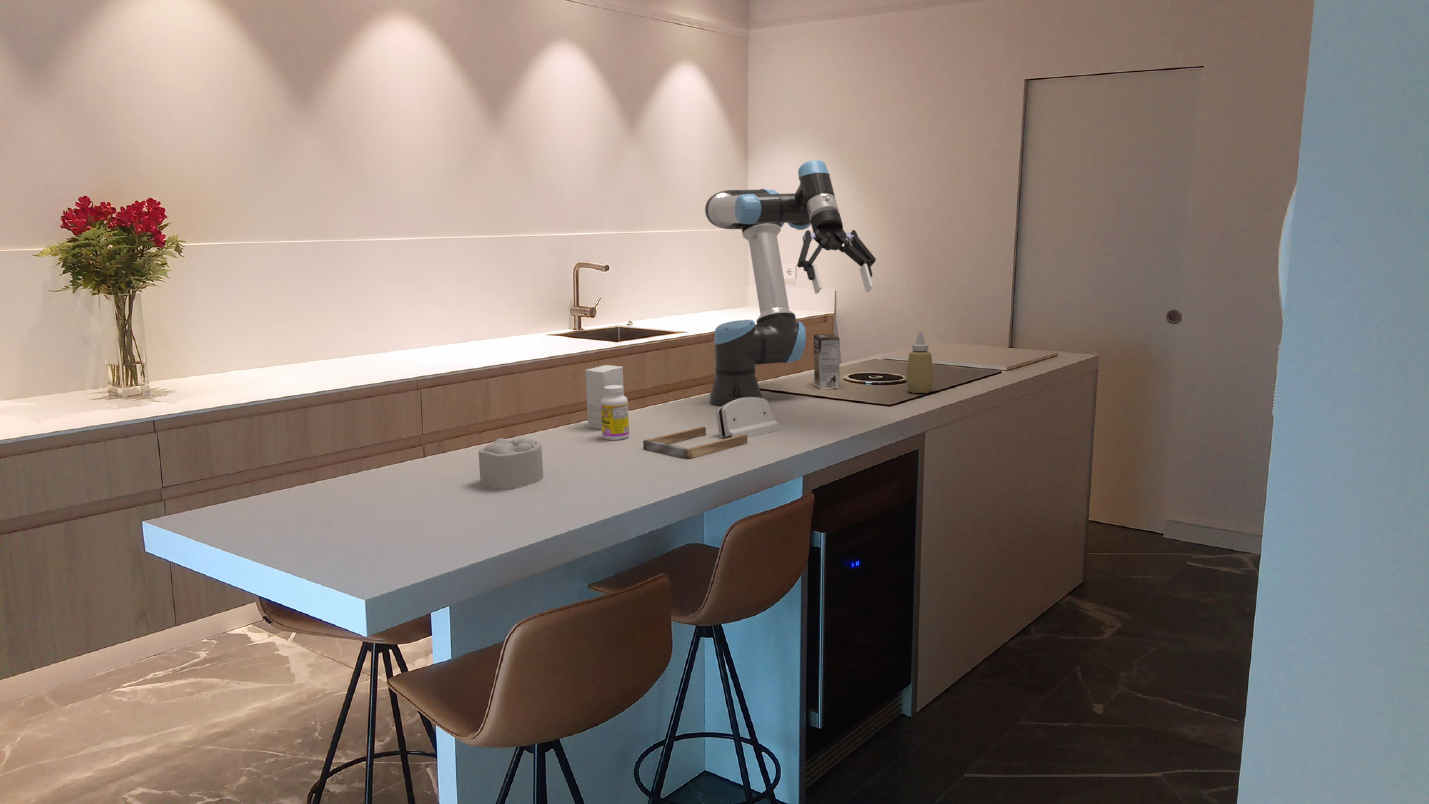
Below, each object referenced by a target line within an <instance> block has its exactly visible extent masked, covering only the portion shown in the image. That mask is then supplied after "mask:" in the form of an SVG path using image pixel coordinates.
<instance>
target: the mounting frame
mask: <svg viewBox="0 0 1429 804" xmlns="http://www.w3.org/2000/svg"><path fill="white" fill-rule="evenodd" d="M706 435H707V428H706V426H698V427H693V428H691V429H686V430H682V431H678V432H674V433H669V434H665V435H662V436H657V437H653V438H648V439H643V440H642V444H643V450H646V451H652V452H656V453H659V454H664V455H669V456H672V457H678V458H682V459H686V460H691V459H694V458H698V457H701V456H704V455H708V454H712V453H716V452H720V451H723V450H728V449H730V448H734V447H739V446H742V445H746V444H748V443H749V442H748V438H747V435H745V434H743V435H739V436H735V437H731V436H730V437H726V438H724V439H723V438H722V439H720V440H717V441H716V440H715V441H712V442H709V443H706V444H701V445H697V446H693V447H690V448H689V447H688V448H687V447H682V446H678V445H673V444H675V443H679V442H682V441H683V442H684V441H687V440H691V439H696V438H699V437H703V436H706ZM745 443H746V444H745Z"/></svg>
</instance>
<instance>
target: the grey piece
mask: <svg viewBox="0 0 1429 804" xmlns="http://www.w3.org/2000/svg"><path fill="white" fill-rule="evenodd" d="M715 414H716V422H717V429H718V435H719V438H720V439H723V438H729V437H730V438H731V437H735V436H739V435H743V434H745V435H747V439H748V438H751V437H757V436H759V435H765V434H768V433H772V432H777V431H781V428H780V424H779V422H778V421H776V419H775V418H774V415H773V412H772V408H771V406H770V403H769V401H768V400H767V399H766V398H763V397H762V398H758V397H745V398H740V399H736V400H733V401H731V402H729V403H727V404H725V405H723V406H720V407H719V408H718V409H717V410H716V413H715Z"/></svg>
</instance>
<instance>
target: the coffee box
mask: <svg viewBox="0 0 1429 804" xmlns="http://www.w3.org/2000/svg"><path fill="white" fill-rule="evenodd" d="M840 340H841V339H840V337H839V336H836V335H835V334H834V333H831V334H827V333H825V334H824V333H823V334H822V333H819V334H817V333H816V334H813V370H814V372H813V377H814V378H813V379H814V383H815V384H816V385H817V386H819V387H820V388H827V387H828V388H832V387H839V388H840V368H841V367H840V357H841V356H840V355H841V354H840V352H841V351H840V348H841V347H840V342H841V341H840ZM817 386H816V387H817Z"/></svg>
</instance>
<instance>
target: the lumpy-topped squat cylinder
mask: <svg viewBox="0 0 1429 804" xmlns="http://www.w3.org/2000/svg"><path fill="white" fill-rule="evenodd" d="M542 450H543V449H542V444H541V442H539V441H535V440H533V439H531V438H525V437H522V436H521V437H519V436H518V437H515V438H513V439H512V440H508V439H506V438H497V439H495V440H494V442H493V443H489V444H488V445H487V444H486V446H485V447H482V448H480V449H479V450H478V466H479V480H480V485H481V486H483V487H487V486H490V487H489V488H491V487H492V489H494V490H497V489H504V490H503V491H506V490H505V489H509V490H515V489H518V487H519V488H522V487H521V486H524V487H527V486H530V485H529V484H531V485H534V484H537V483H538V481H539V482H540V481H542V479H544V467H543V451H542ZM536 482H537V483H536Z"/></svg>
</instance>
